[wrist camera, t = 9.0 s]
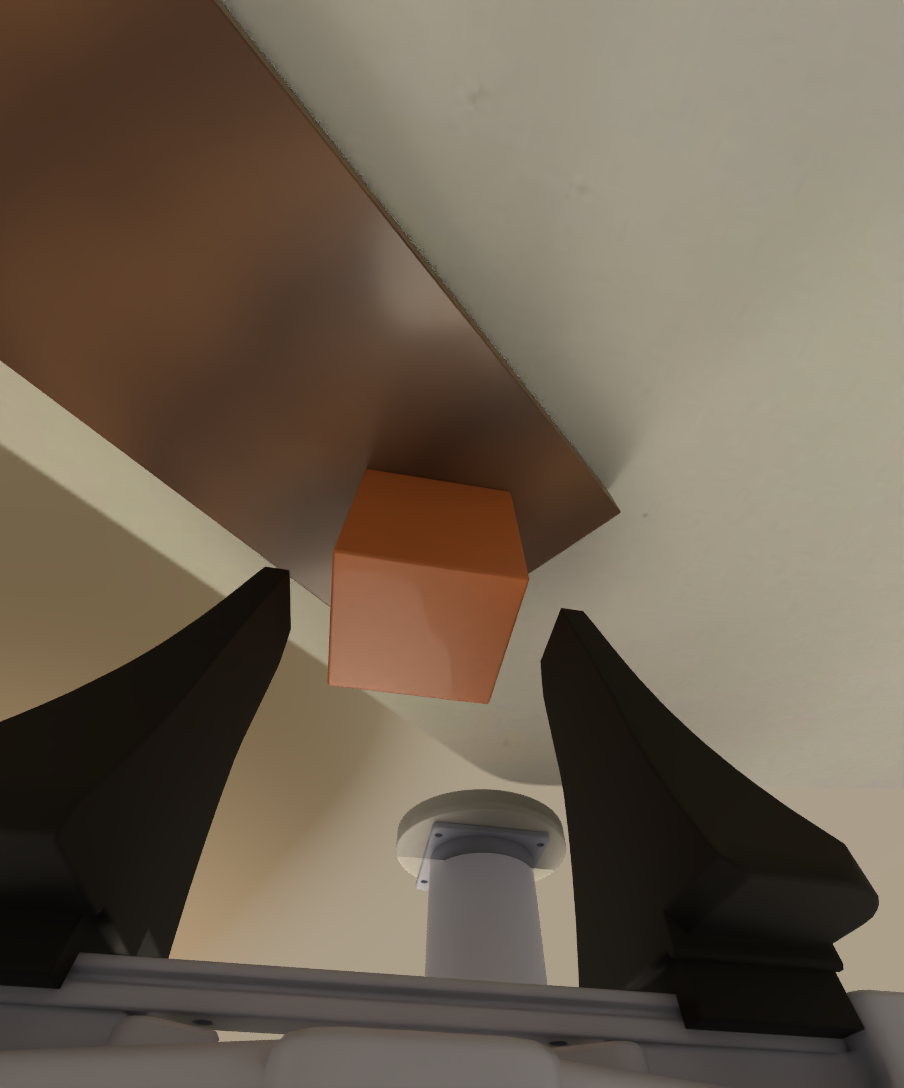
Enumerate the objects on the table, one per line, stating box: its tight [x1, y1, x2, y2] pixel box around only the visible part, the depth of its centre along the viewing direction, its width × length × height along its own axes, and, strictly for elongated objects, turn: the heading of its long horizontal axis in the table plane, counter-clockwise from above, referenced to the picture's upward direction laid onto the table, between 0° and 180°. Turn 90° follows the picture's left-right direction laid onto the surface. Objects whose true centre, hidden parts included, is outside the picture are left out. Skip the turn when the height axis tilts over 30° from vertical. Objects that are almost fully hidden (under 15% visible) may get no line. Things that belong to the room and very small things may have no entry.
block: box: [328, 469, 529, 704], centre depth 14 cm, size 4×4×4 cm
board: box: [0, 0, 620, 607], centre depth 13 cm, size 20×10×2 cm, turn 42°
